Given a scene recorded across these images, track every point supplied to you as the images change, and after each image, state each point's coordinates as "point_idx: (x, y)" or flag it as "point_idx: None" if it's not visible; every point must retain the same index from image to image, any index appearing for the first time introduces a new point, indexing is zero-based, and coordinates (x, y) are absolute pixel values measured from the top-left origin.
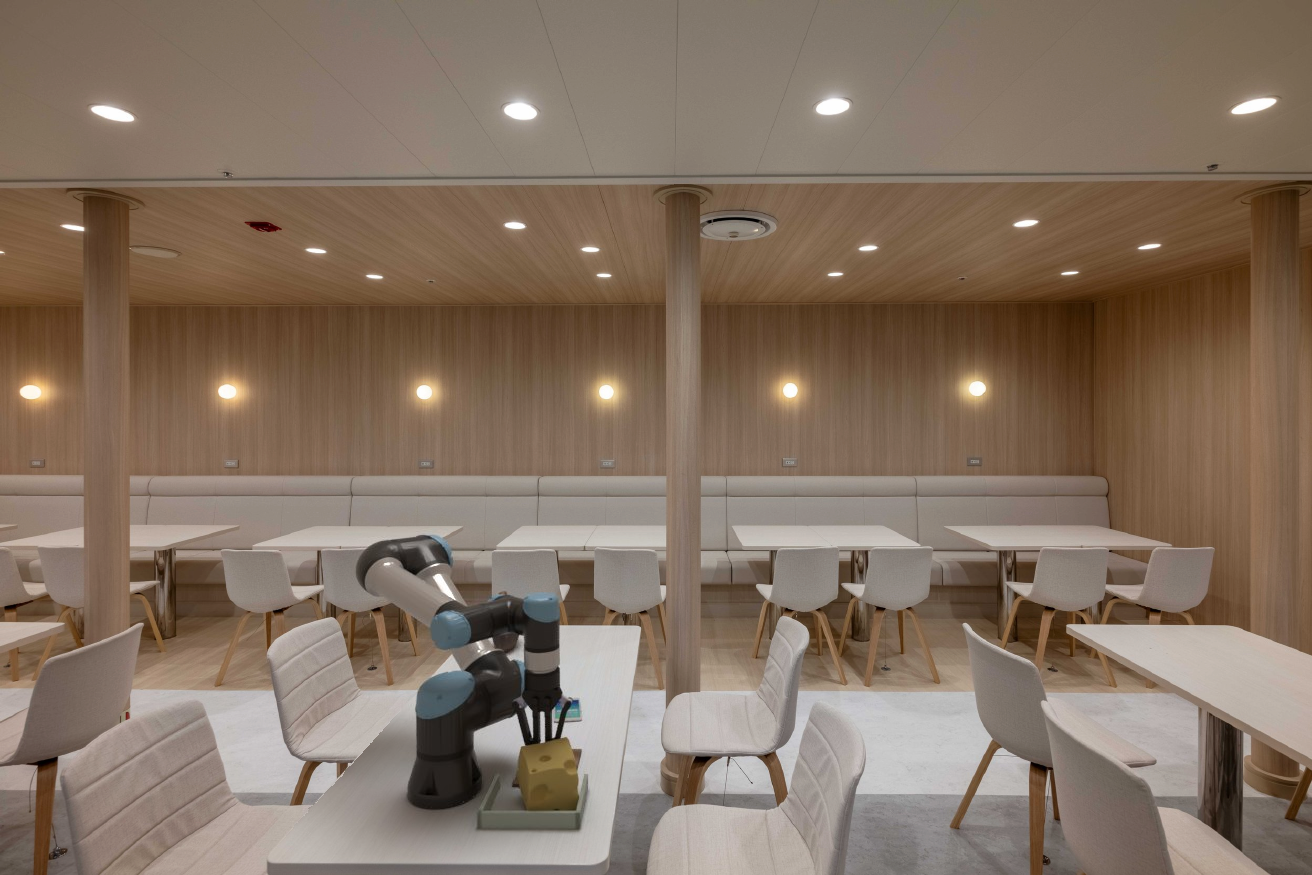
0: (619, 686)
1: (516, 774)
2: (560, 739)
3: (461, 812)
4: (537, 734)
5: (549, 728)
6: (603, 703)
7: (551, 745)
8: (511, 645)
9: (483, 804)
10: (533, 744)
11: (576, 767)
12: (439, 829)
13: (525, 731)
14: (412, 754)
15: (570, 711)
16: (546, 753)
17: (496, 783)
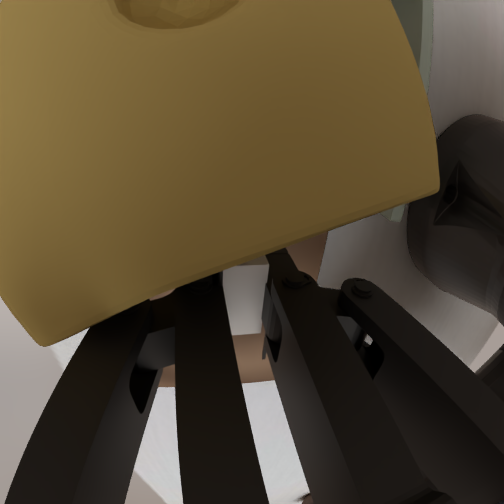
0: (155, 487)
1: (318, 266)
2: (68, 312)
3: (447, 83)
4: (313, 354)
5: (190, 423)
6: (162, 471)
7: (127, 204)
8: (308, 500)
9: (427, 19)
10: (341, 221)
11: None
12: (472, 28)
13: (422, 353)
14: (475, 320)
15: None
16: (169, 46)
17: None
